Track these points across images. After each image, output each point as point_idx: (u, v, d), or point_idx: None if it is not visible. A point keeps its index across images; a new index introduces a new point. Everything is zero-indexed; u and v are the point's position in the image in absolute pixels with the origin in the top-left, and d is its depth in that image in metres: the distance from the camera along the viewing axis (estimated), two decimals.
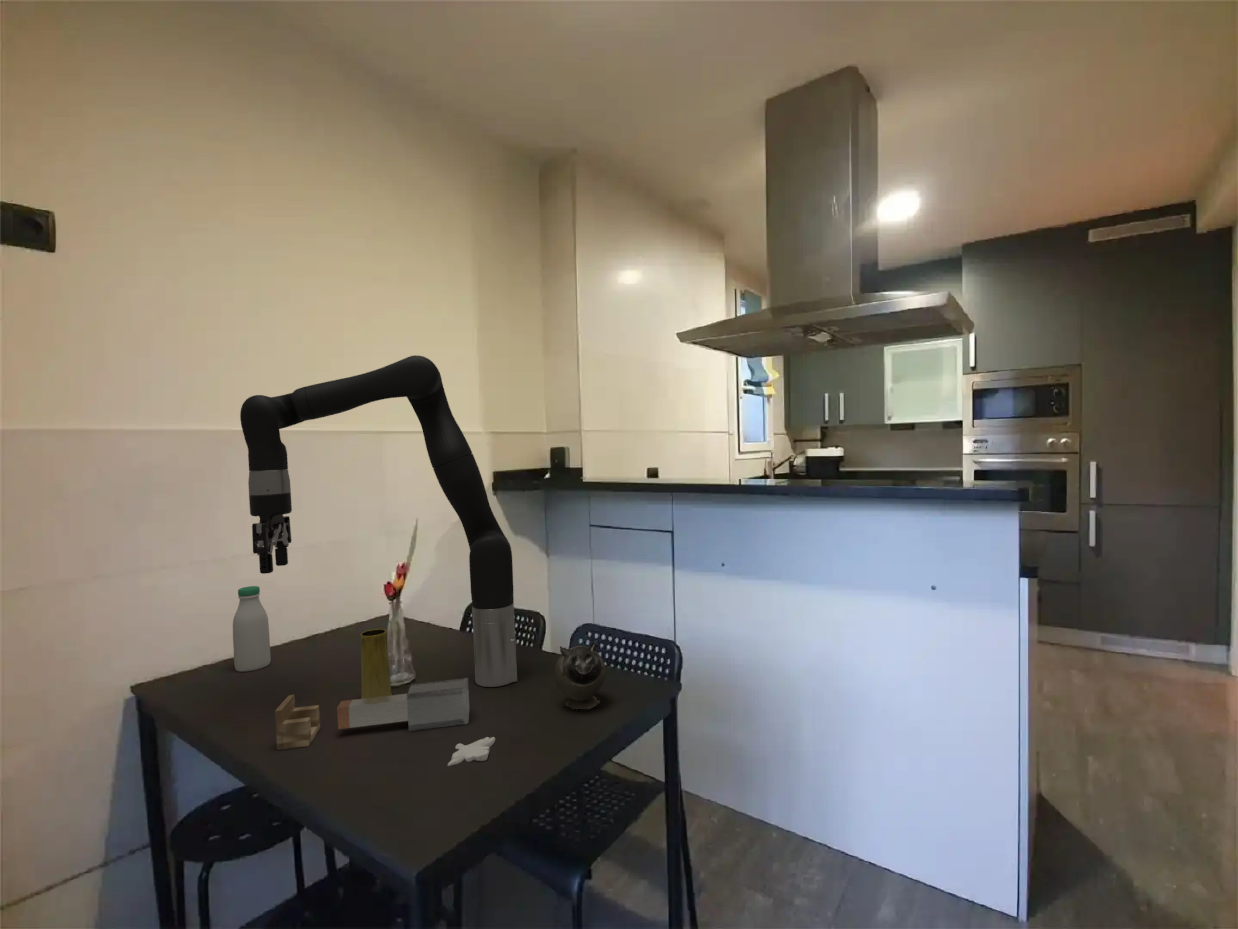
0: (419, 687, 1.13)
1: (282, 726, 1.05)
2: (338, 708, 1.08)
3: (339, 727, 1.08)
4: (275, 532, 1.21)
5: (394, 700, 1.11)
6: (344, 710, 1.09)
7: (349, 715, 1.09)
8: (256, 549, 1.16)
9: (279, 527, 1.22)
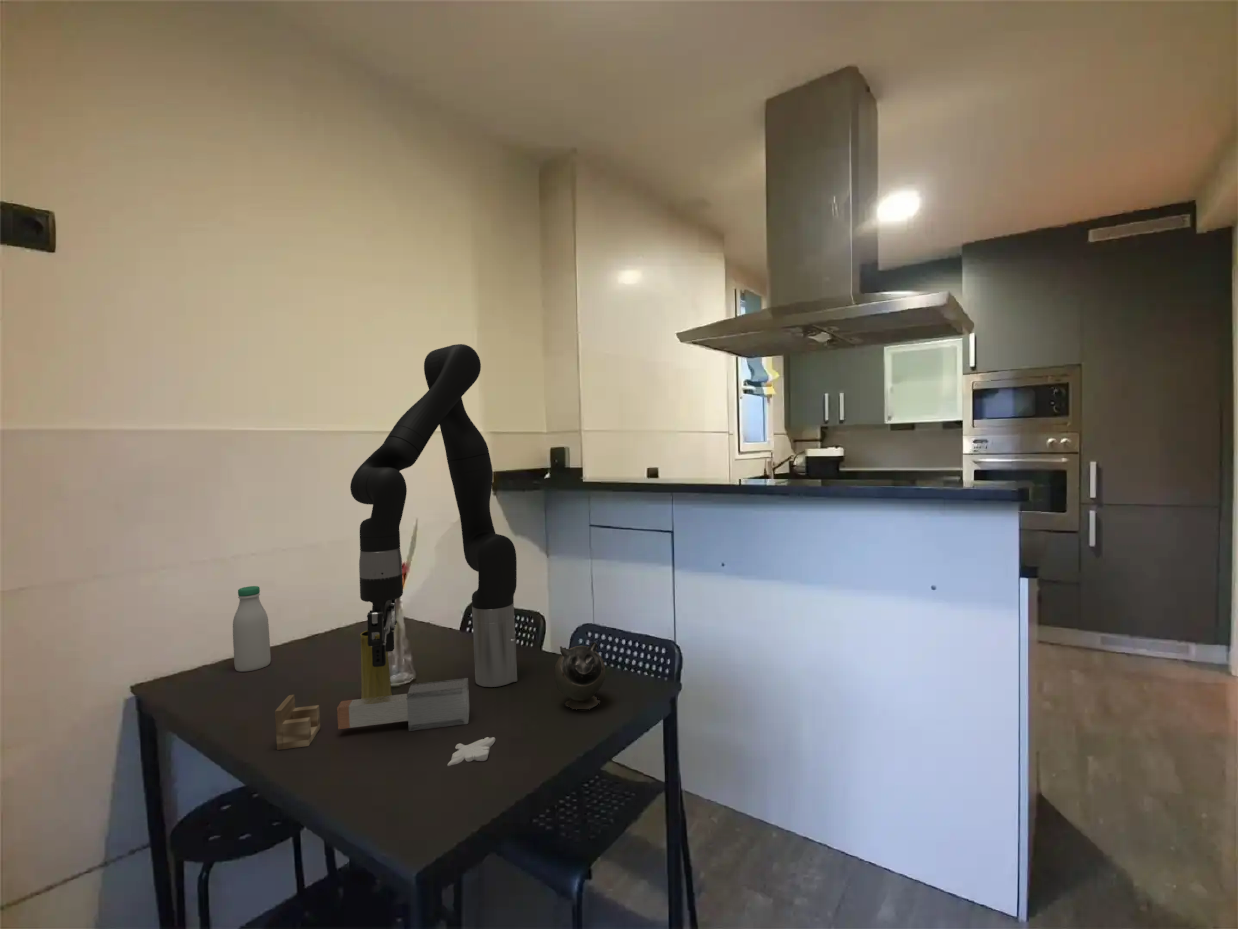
0: (419, 687, 1.13)
1: (282, 726, 1.05)
2: (338, 708, 1.08)
3: (339, 727, 1.08)
4: (388, 619, 1.09)
5: (394, 700, 1.11)
6: (344, 710, 1.09)
7: (349, 715, 1.09)
8: (371, 642, 1.04)
9: (391, 613, 1.10)
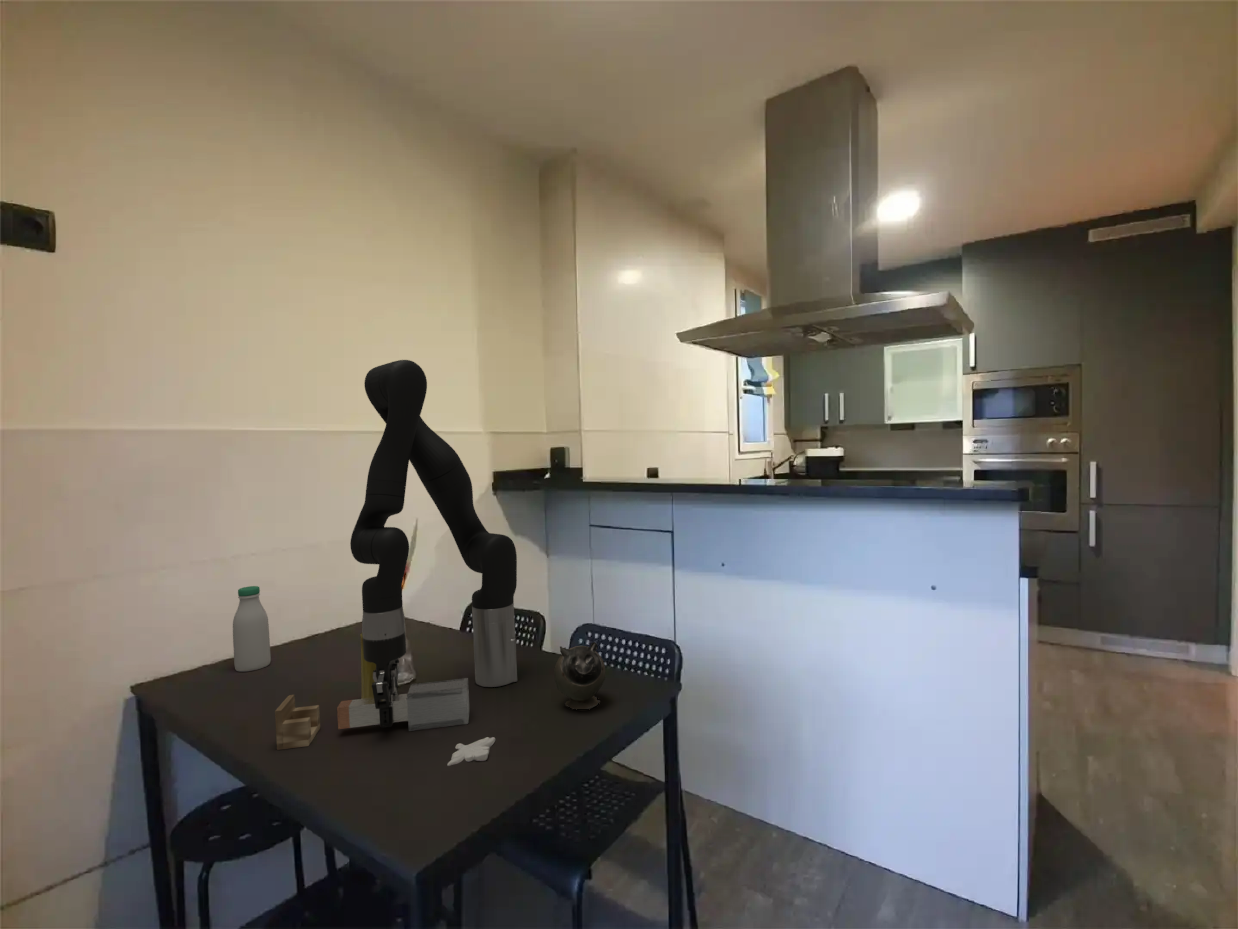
0: (419, 687, 1.13)
1: (282, 726, 1.05)
2: (338, 708, 1.08)
3: (339, 727, 1.08)
4: (392, 681, 1.10)
5: (394, 700, 1.11)
6: (344, 710, 1.09)
7: (349, 715, 1.09)
8: (379, 705, 1.07)
9: (395, 673, 1.10)
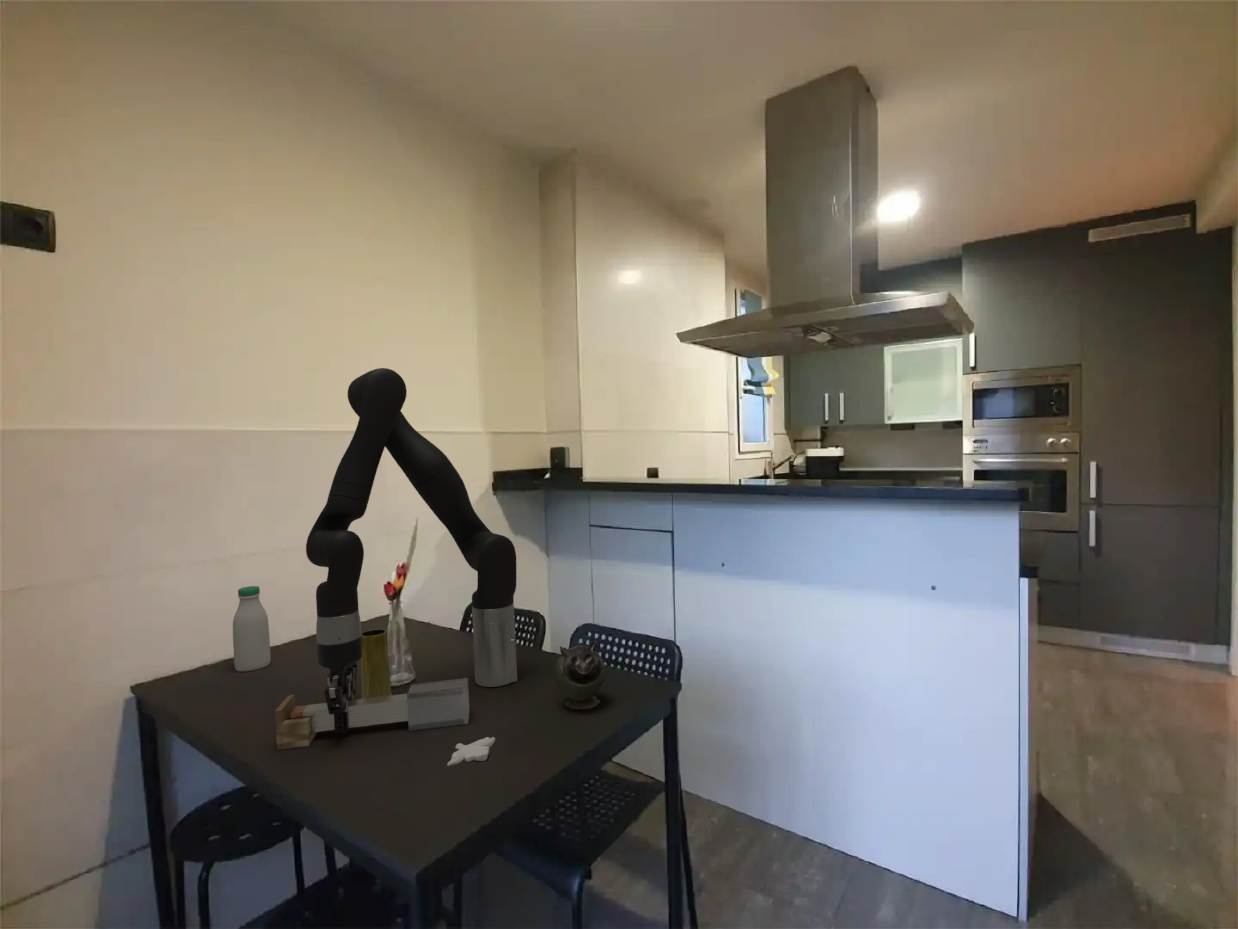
0: (419, 687, 1.13)
1: (282, 726, 1.05)
2: (292, 713, 1.07)
3: None
4: (347, 686, 1.08)
5: (350, 705, 1.09)
6: (298, 715, 1.07)
7: None
8: (332, 710, 1.05)
9: (350, 678, 1.09)
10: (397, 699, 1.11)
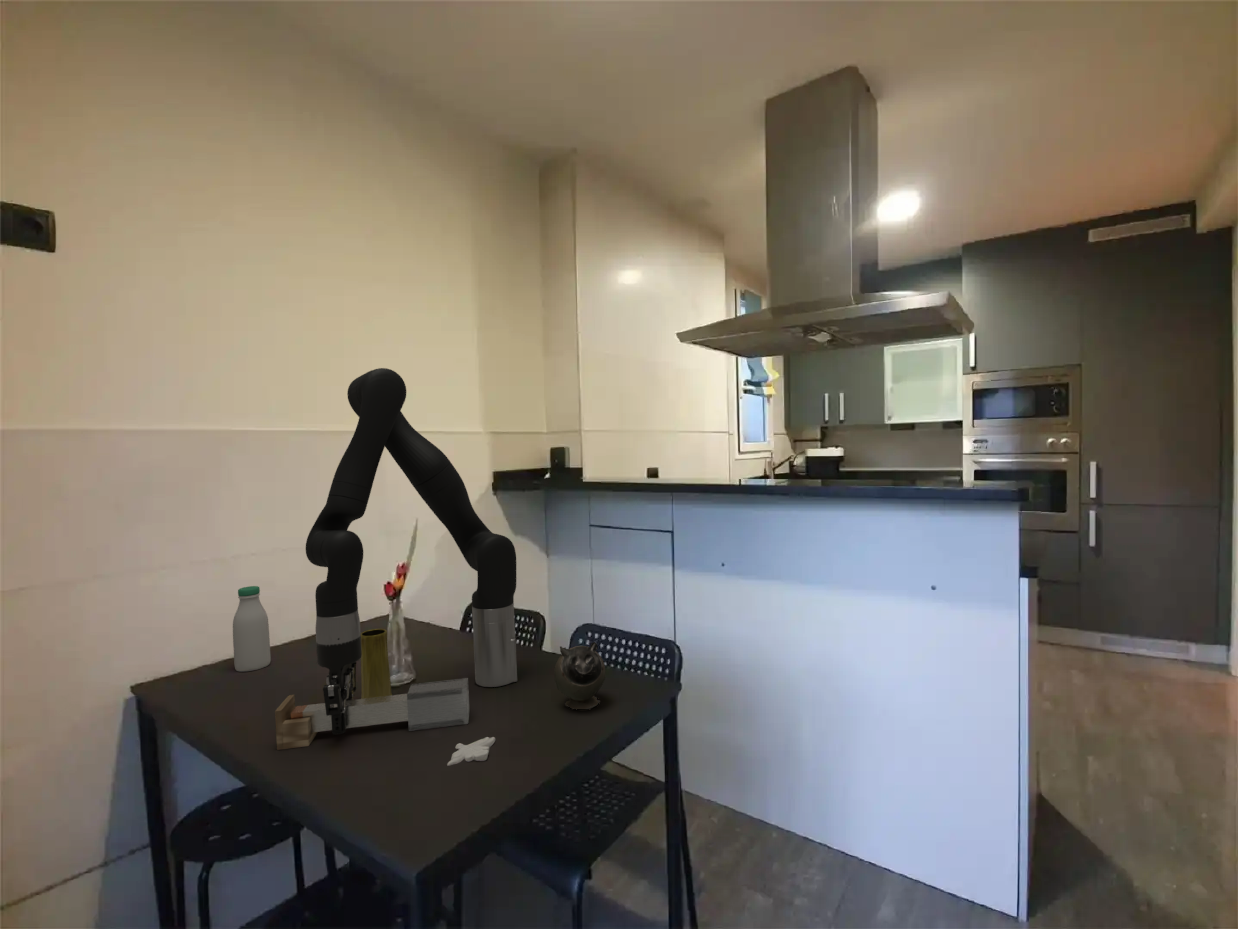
0: (419, 687, 1.13)
1: (282, 726, 1.05)
2: (291, 713, 1.07)
3: None
4: (346, 686, 1.08)
5: (349, 705, 1.09)
6: (298, 715, 1.07)
7: None
8: (330, 711, 1.04)
9: (349, 678, 1.09)
10: (397, 699, 1.11)
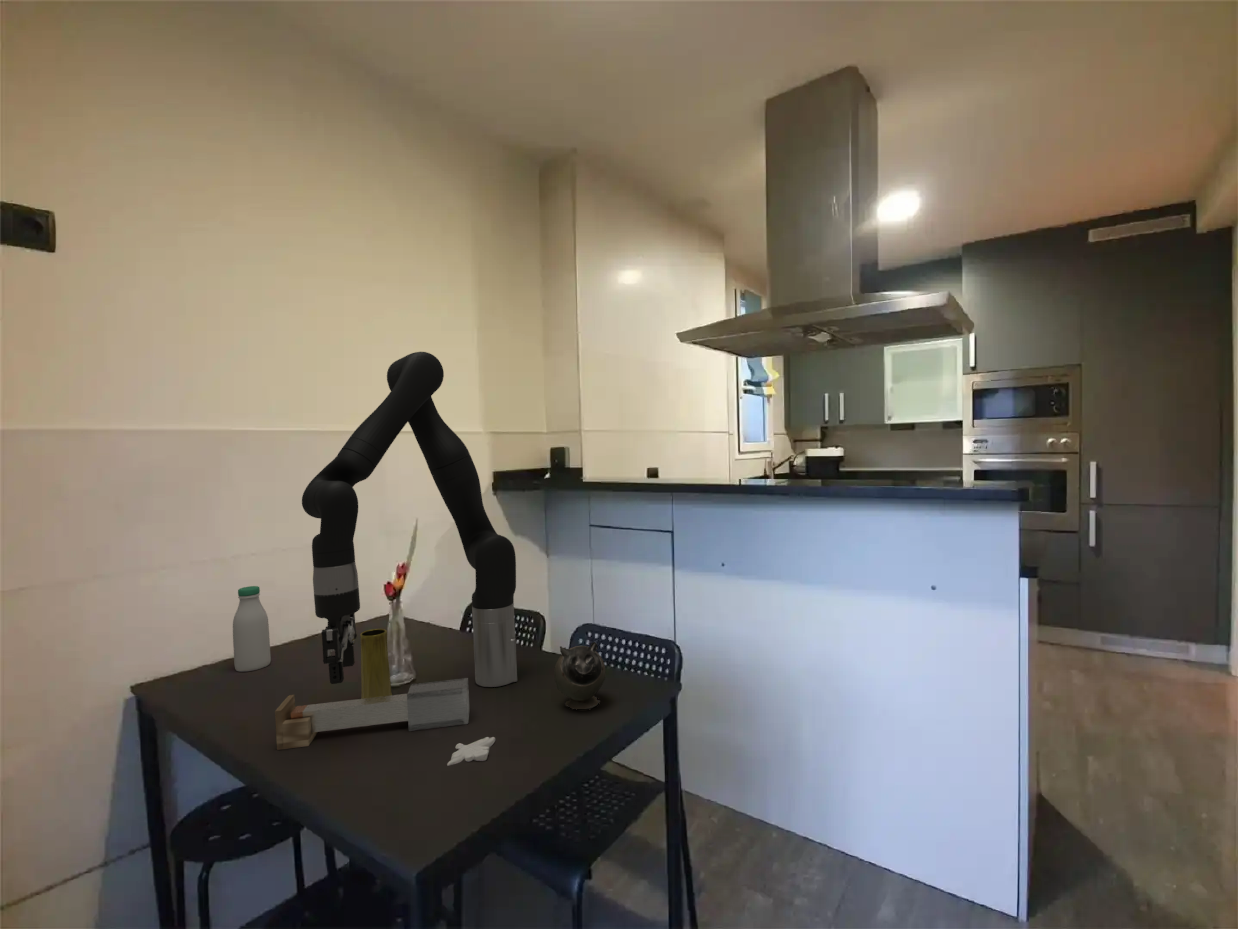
0: (419, 687, 1.13)
1: (282, 726, 1.05)
2: (291, 713, 1.07)
3: None
4: (345, 635, 1.07)
5: (349, 705, 1.09)
6: (298, 715, 1.07)
7: None
8: (327, 659, 1.02)
9: (348, 628, 1.08)
10: (397, 699, 1.11)
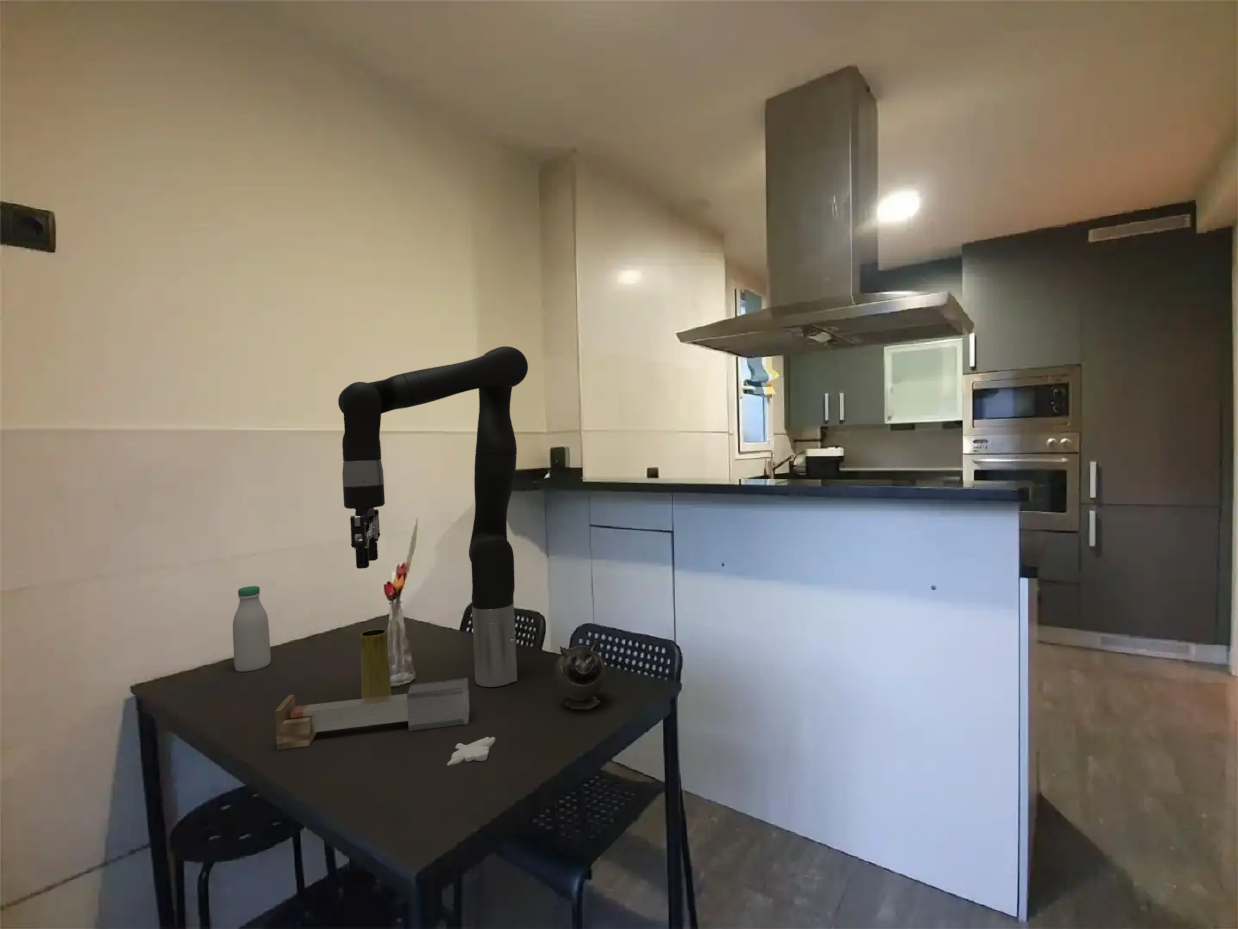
0: (419, 687, 1.13)
1: (282, 726, 1.05)
2: (291, 713, 1.07)
3: None
4: (370, 525, 1.15)
5: (349, 705, 1.09)
6: (298, 715, 1.07)
7: None
8: (354, 543, 1.11)
9: (374, 520, 1.16)
10: (397, 699, 1.11)
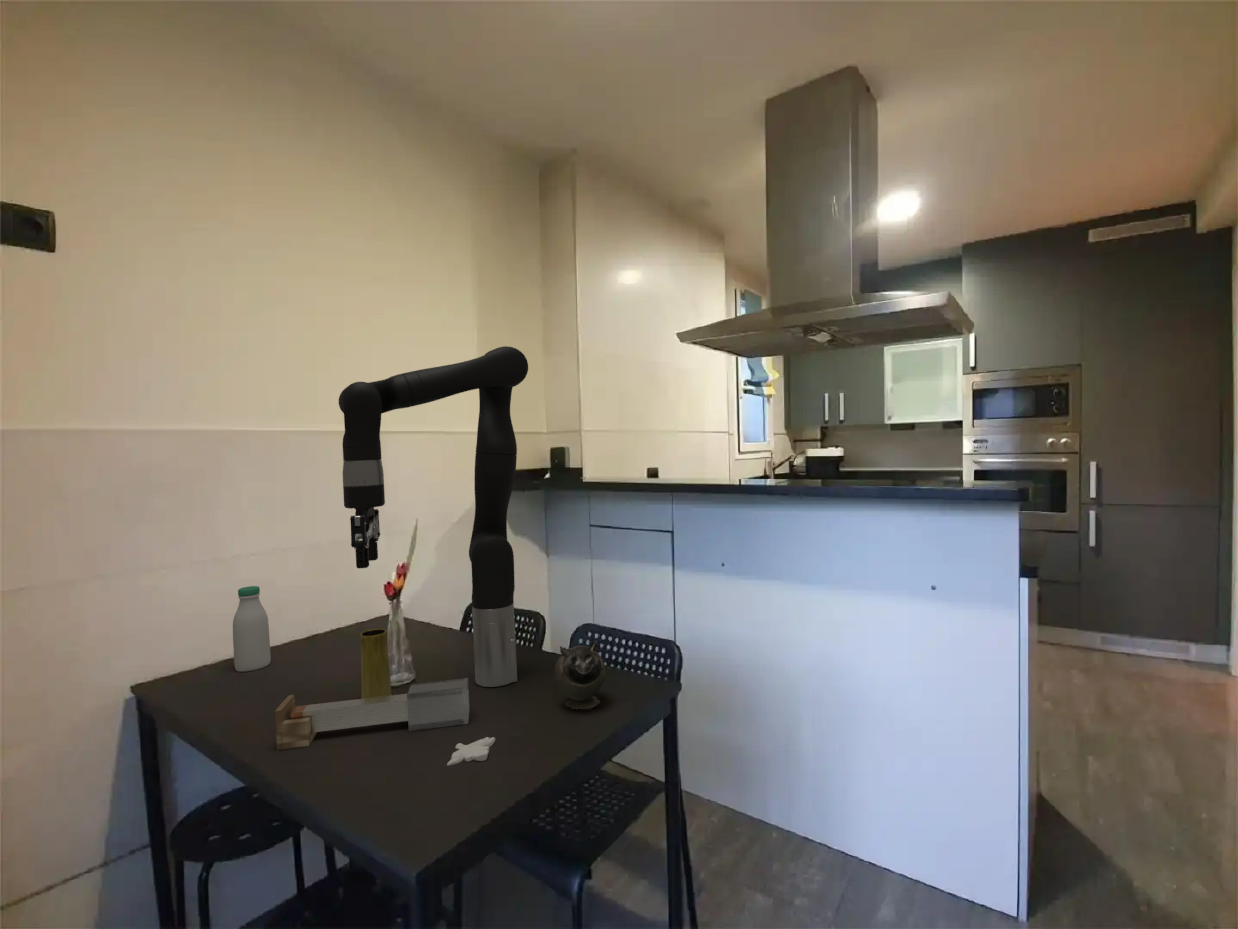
0: (419, 687, 1.13)
1: (282, 726, 1.05)
2: (291, 713, 1.07)
3: None
4: (370, 525, 1.15)
5: (349, 705, 1.09)
6: (298, 715, 1.07)
7: None
8: (354, 543, 1.11)
9: (374, 520, 1.16)
10: (397, 699, 1.11)
